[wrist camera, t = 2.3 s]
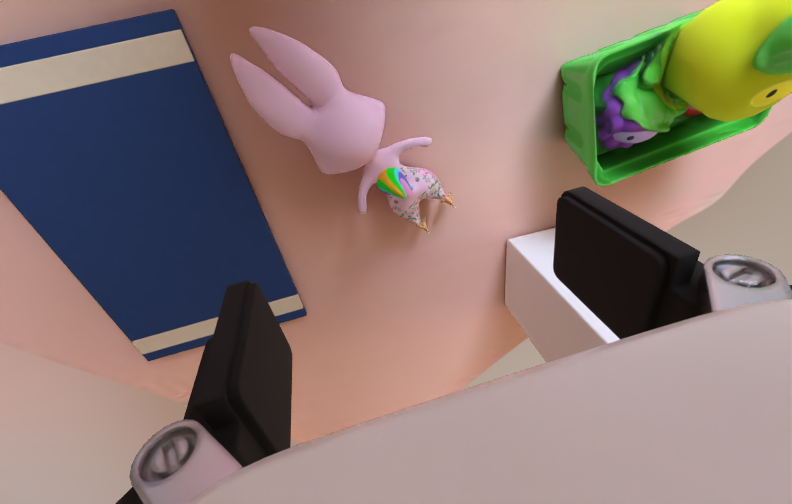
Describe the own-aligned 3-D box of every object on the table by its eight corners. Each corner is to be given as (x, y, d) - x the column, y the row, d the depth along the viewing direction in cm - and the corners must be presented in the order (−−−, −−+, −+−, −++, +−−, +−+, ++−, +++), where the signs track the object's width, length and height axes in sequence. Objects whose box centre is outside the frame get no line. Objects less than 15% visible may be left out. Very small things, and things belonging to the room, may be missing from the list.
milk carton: (503, 304, 33) (689, 561, 17) (505, 237, 29) (749, 492, 13) (575, 285, 34) (816, 514, 18) (587, 217, 30) (908, 436, 14)
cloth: (-97, 66, 16) (-106, 67, 16) (174, 9, 17) (171, 9, 17) (149, 357, 28) (147, 362, 27) (306, 312, 29) (306, 316, 28)
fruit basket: (548, 165, 26) (683, 244, 17) (537, 29, 21) (719, 34, 12) (693, 106, 27) (908, 152, 17) (716, -43, 22) (1035, -93, 12)
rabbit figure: (456, 167, 26) (280, -21, 17) (500, 210, 22) (296, -12, 12) (395, 227, 28) (202, 86, 18) (425, 279, 24) (193, 128, 14)
